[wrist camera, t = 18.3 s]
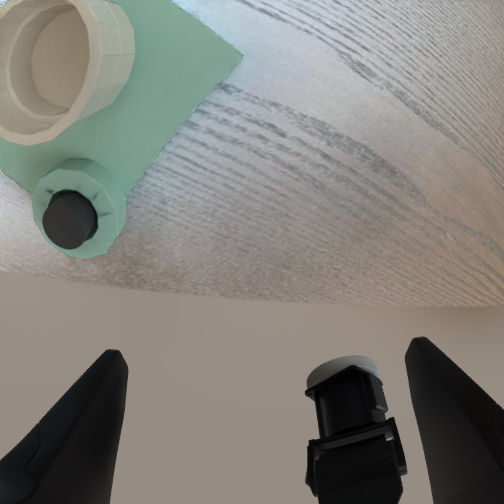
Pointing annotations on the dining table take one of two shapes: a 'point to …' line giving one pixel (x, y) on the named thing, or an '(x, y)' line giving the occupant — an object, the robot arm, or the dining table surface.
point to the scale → (126, 121)
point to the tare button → (69, 220)
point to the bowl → (60, 65)
